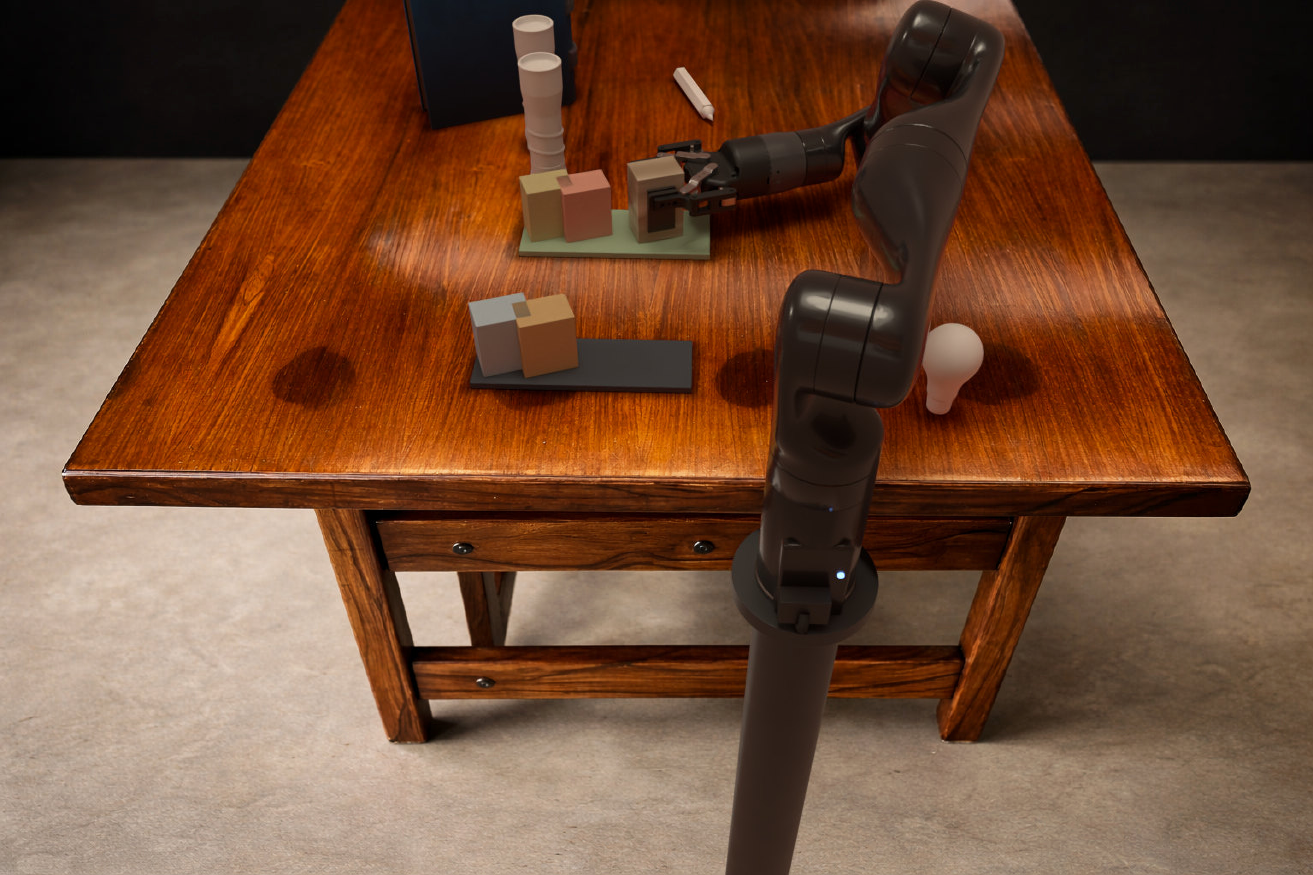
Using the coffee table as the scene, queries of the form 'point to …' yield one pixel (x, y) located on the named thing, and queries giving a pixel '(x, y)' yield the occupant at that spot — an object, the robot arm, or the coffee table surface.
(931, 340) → the lightbulb
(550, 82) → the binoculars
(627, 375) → the blocks on base plate
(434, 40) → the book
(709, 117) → the marker
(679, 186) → the tall taupe block
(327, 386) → the coffee table surface
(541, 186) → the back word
